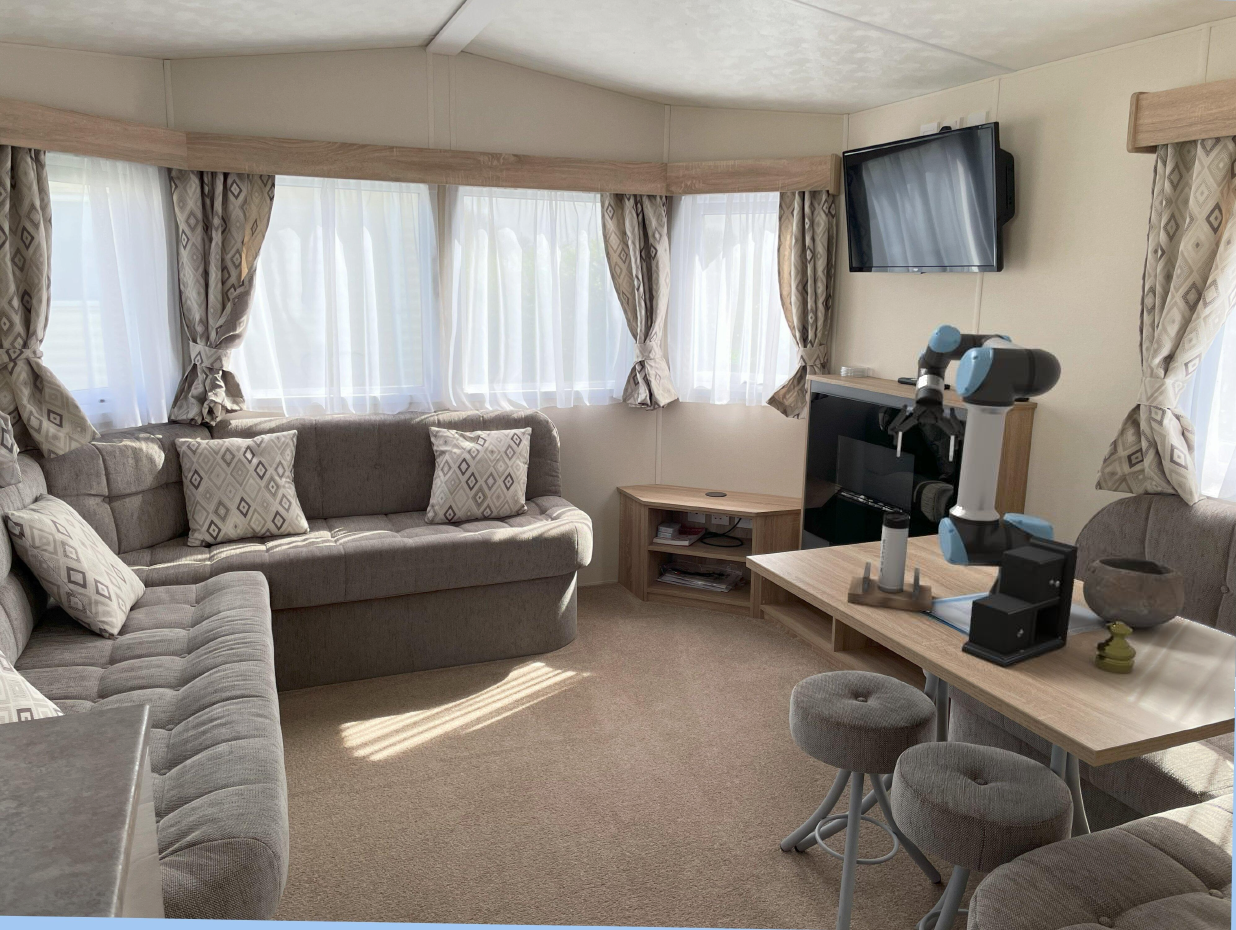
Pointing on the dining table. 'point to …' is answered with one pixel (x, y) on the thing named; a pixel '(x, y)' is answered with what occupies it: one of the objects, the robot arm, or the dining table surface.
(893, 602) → the wooden rack
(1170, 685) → the dining table surface
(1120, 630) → the green coiled snake figurine
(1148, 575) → the clay pot
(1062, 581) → the black mini cabinet
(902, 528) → the travel mug
